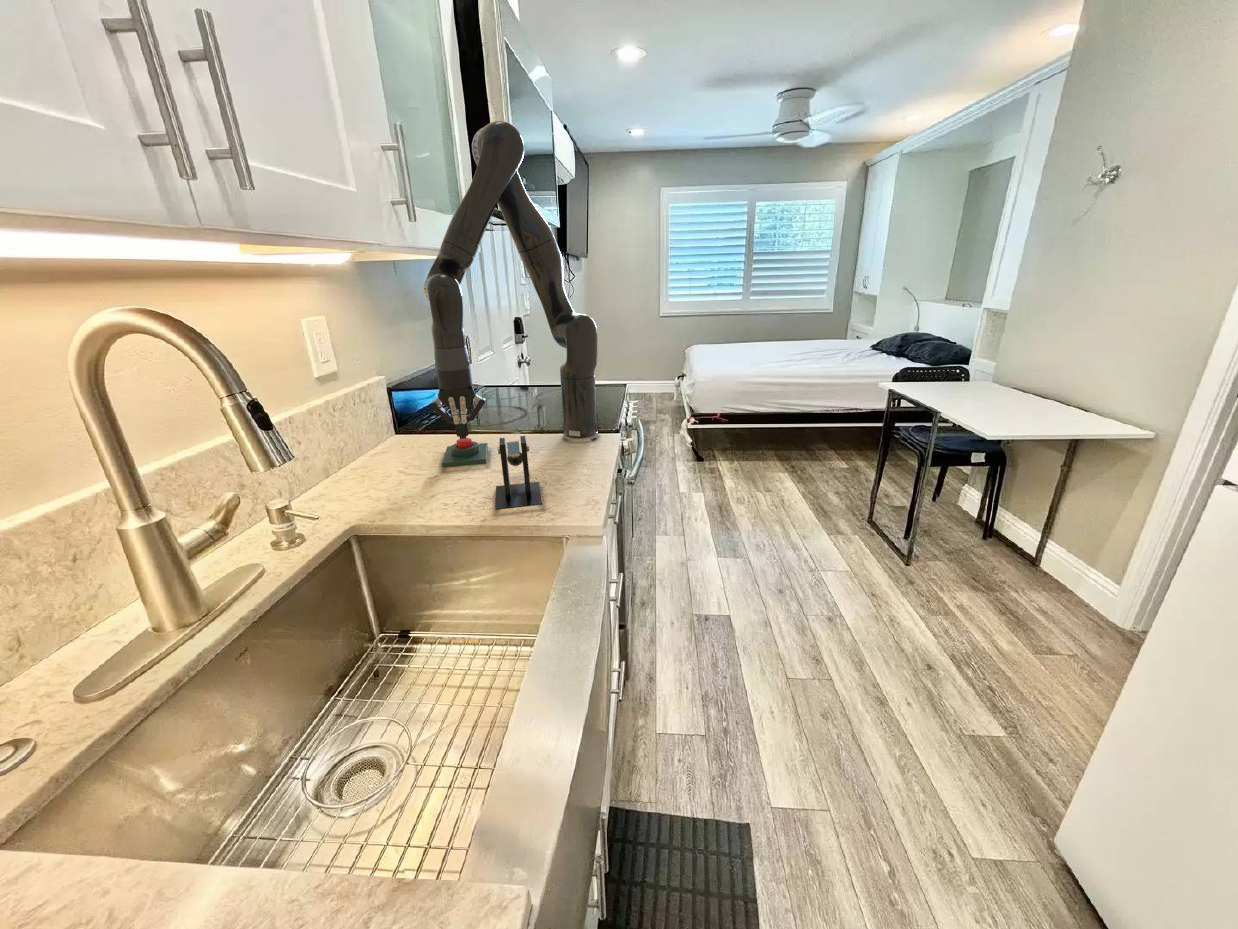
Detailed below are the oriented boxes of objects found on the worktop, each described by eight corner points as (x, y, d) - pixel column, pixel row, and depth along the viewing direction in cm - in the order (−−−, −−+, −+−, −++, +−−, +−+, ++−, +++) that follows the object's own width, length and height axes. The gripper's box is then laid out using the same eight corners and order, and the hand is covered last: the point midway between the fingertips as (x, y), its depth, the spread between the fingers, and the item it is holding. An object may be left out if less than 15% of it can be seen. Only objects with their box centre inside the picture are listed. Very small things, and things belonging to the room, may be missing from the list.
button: (457, 445, 121) (456, 438, 121) (473, 443, 122) (472, 437, 121) (456, 450, 118) (455, 443, 117) (472, 448, 119) (471, 441, 118)
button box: (448, 454, 126) (446, 439, 124) (488, 450, 128) (486, 436, 126) (443, 471, 115) (440, 455, 113) (486, 467, 117) (484, 451, 115)
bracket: (496, 491, 104) (489, 433, 99) (539, 486, 106) (534, 429, 101) (496, 514, 94) (487, 451, 89) (543, 509, 96) (537, 447, 91)
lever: (508, 467, 108) (507, 452, 108) (524, 466, 108) (522, 451, 109) (505, 457, 94) (503, 439, 94) (523, 455, 95) (521, 438, 95)
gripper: (483, 361, 117) (491, 431, 124) (425, 365, 115) (436, 435, 121) (482, 367, 110) (490, 440, 117) (420, 370, 108) (432, 445, 114)
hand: (463, 437), depth 119 cm, fingers closed
